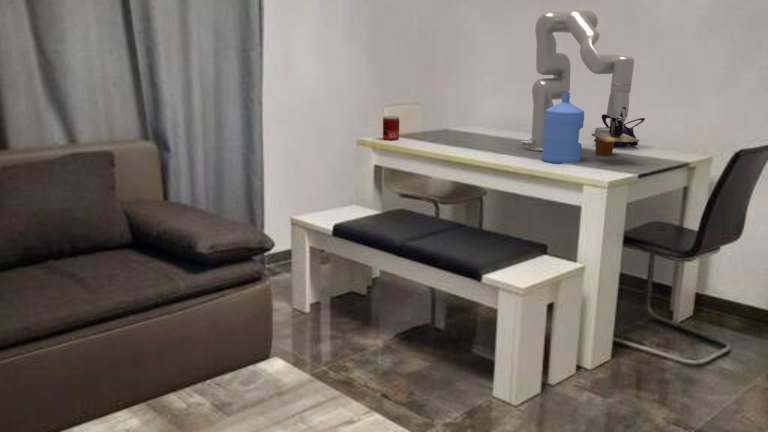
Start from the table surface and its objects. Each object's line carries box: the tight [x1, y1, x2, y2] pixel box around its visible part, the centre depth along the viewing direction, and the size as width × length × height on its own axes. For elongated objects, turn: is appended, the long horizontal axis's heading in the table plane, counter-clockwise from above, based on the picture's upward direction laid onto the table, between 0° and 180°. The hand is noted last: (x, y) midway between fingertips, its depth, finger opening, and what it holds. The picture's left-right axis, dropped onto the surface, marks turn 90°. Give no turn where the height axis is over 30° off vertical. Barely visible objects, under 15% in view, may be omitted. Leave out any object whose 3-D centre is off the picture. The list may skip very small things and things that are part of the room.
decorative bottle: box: [593, 113, 646, 148], centre depth 336 cm, size 22×21×25 cm
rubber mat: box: [586, 157, 645, 167], centre depth 293 cm, size 18×16×1 cm
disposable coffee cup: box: [593, 127, 615, 157], centre depth 310 cm, size 10×10×12 cm
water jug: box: [541, 91, 585, 165], centre depth 297 cm, size 16×16×28 cm
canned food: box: [382, 115, 400, 142], centre depth 351 cm, size 8×8×11 cm
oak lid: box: [591, 121, 640, 143], centre depth 291 cm, size 14×14×7 cm
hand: (615, 134), depth 291 cm, fingers closed on oak lid, 3 cm apart
